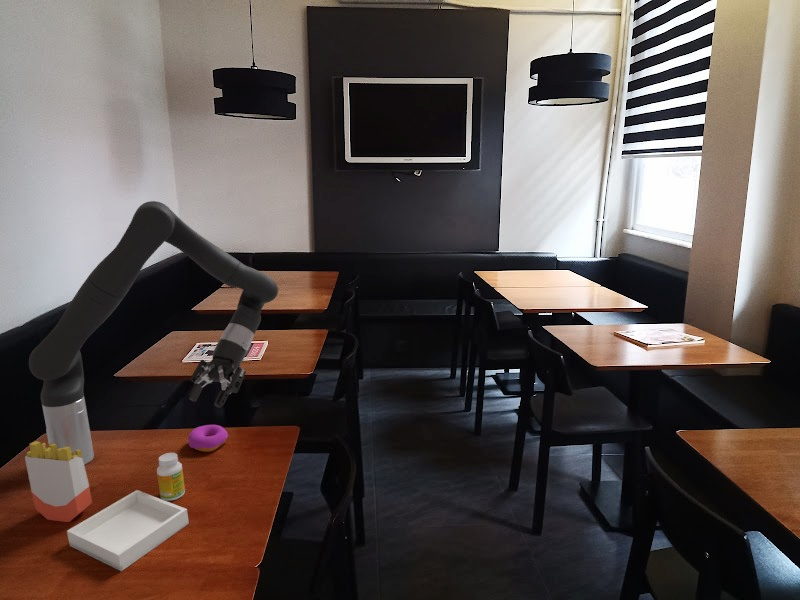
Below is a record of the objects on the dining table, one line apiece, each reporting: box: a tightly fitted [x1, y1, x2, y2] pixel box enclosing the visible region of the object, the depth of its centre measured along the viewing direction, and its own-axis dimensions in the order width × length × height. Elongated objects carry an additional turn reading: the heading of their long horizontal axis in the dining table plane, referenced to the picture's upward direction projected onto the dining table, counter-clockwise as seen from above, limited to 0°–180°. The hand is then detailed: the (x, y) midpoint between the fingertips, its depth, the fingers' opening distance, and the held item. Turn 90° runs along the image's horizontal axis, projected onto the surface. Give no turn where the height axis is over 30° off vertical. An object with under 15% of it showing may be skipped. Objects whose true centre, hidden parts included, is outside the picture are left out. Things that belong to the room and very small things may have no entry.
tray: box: [66, 489, 189, 572], centre depth 115 cm, size 16×16×4 cm
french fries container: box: [24, 440, 93, 523], centre depth 120 cm, size 5×11×18 cm, turn 78°
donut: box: [187, 424, 229, 453], centre depth 152 cm, size 10×10×5 cm
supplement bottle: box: [156, 452, 186, 502], centre depth 128 cm, size 5×5×10 cm
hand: (204, 403), depth 135 cm, fingers open, 8 cm apart
